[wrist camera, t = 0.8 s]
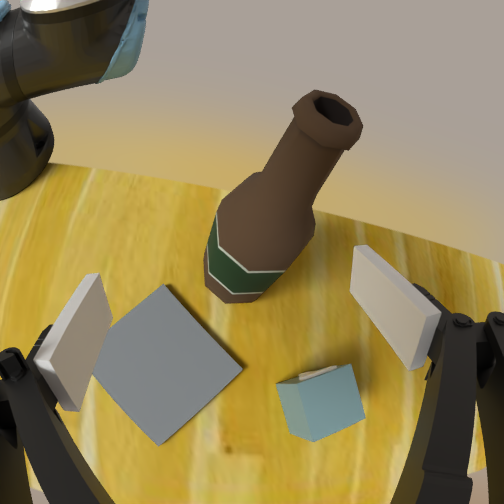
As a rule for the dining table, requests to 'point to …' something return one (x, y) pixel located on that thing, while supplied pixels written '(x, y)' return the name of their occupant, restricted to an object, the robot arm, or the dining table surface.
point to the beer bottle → (278, 201)
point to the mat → (162, 365)
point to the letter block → (321, 402)
